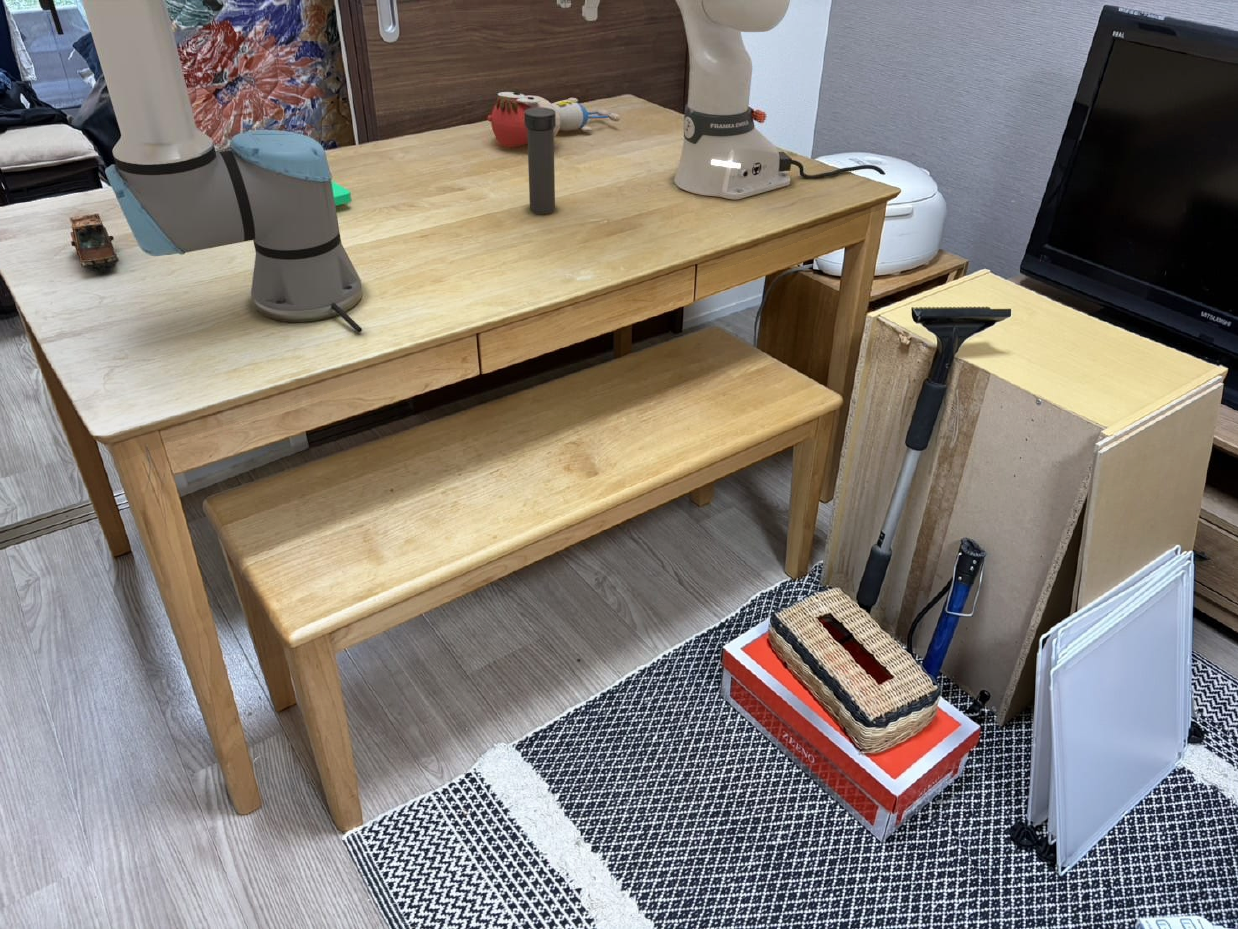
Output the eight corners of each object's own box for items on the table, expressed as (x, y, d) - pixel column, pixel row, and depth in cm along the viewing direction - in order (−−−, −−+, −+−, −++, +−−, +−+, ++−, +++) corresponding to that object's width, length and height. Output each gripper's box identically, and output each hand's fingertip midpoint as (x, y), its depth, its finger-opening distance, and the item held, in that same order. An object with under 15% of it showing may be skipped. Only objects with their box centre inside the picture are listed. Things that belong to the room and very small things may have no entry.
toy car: (109, 242, 148) (95, 200, 144) (132, 268, 141) (118, 225, 137) (66, 252, 145) (51, 209, 141) (87, 279, 138) (72, 235, 133)
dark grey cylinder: (526, 206, 165) (523, 111, 155) (550, 203, 167) (548, 109, 157) (534, 215, 162) (531, 119, 152) (558, 212, 163) (556, 117, 153)
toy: (638, 98, 193) (509, 99, 178) (634, 148, 198) (509, 154, 183) (593, 85, 207) (469, 85, 192) (590, 133, 211) (469, 136, 196)
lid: (521, 122, 156) (520, 108, 155) (550, 119, 158) (549, 106, 157) (530, 131, 153) (529, 117, 151) (559, 128, 154) (559, 114, 153)
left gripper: (151, -134, 141) (187, 17, 154) (-38, -132, 131) (17, 30, 144) (159, -130, 136) (195, 26, 149) (-37, -127, 126) (20, 41, 138)
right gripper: (630, -87, 123) (626, 26, 131) (569, -104, 138) (569, -1, 146) (587, -86, 121) (585, 29, 129) (529, -103, 135) (531, 1, 144)
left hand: (108, 29), depth 146 cm, fingers open, 13 cm apart
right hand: (576, 13), depth 138 cm, fingers open, 8 cm apart
